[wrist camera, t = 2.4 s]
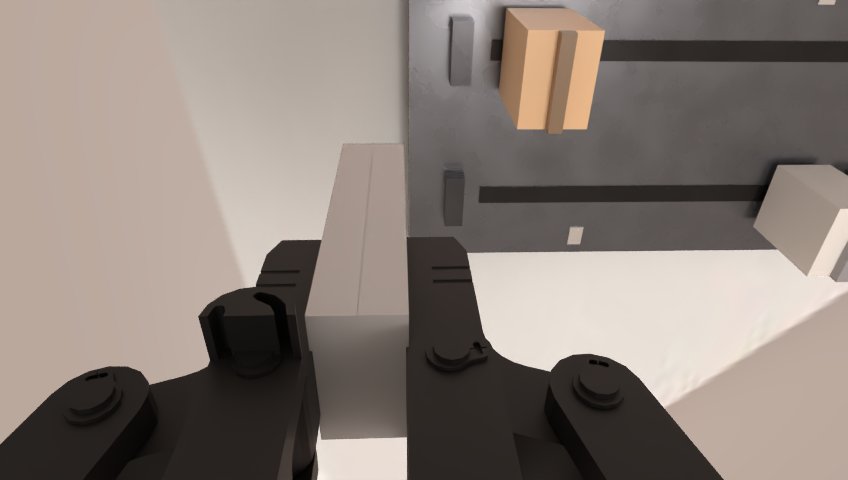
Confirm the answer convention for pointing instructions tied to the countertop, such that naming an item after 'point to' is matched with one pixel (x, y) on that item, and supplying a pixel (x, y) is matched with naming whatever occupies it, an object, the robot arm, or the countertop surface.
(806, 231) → the fader
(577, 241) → the console
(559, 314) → the countertop surface
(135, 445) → the robot arm
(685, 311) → the countertop surface
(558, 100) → the block
